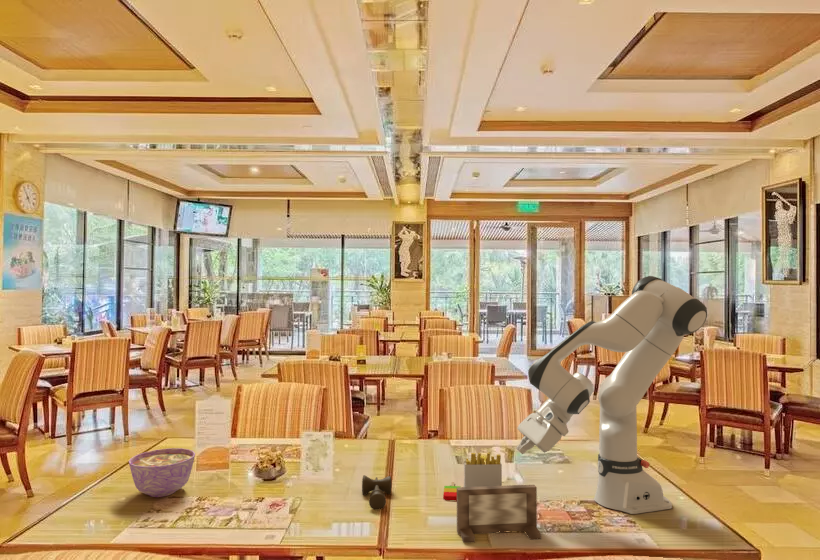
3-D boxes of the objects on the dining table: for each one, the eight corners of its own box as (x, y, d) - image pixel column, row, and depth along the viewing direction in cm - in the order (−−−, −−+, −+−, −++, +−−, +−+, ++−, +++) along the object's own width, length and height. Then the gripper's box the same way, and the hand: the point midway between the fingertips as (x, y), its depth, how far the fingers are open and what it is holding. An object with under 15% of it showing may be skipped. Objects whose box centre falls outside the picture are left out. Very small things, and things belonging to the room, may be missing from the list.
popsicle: (443, 501, 172) (442, 495, 172) (445, 484, 187) (445, 479, 187) (460, 502, 172) (460, 496, 172) (461, 485, 187) (461, 479, 187)
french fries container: (463, 509, 165) (463, 449, 166) (499, 508, 166) (498, 449, 166) (465, 515, 161) (465, 454, 161) (501, 514, 161) (501, 453, 161)
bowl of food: (155, 479, 191) (155, 446, 191) (207, 483, 187) (207, 449, 187) (113, 501, 171) (113, 464, 172) (170, 506, 167) (170, 468, 167)
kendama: (361, 512, 164) (361, 486, 184) (393, 512, 165) (390, 486, 185) (361, 492, 164) (362, 469, 184) (393, 492, 165) (390, 468, 185)
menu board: (534, 527, 152) (534, 484, 153) (542, 539, 145) (542, 493, 146) (456, 531, 150) (456, 487, 150) (461, 543, 143) (461, 497, 143)
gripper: (532, 403, 175) (502, 434, 174) (555, 418, 155) (522, 454, 154) (545, 417, 176) (516, 448, 175) (570, 434, 156) (537, 469, 154)
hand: (519, 451), depth 164 cm, fingers closed
